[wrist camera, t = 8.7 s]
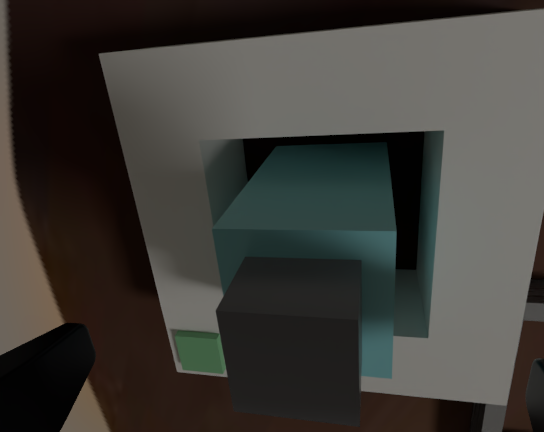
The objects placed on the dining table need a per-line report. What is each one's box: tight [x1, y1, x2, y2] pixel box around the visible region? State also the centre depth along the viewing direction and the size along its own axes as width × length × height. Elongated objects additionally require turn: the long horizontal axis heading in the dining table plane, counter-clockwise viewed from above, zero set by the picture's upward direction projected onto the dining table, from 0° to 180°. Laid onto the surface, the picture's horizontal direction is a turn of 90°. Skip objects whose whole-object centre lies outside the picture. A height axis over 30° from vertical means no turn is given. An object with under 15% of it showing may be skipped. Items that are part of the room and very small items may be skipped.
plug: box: [212, 142, 397, 427], centre depth 12 cm, size 4×4×9 cm
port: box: [99, 8, 544, 406], centre depth 14 cm, size 12×12×4 cm
